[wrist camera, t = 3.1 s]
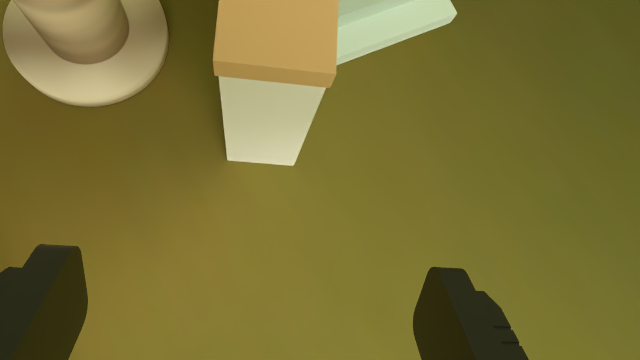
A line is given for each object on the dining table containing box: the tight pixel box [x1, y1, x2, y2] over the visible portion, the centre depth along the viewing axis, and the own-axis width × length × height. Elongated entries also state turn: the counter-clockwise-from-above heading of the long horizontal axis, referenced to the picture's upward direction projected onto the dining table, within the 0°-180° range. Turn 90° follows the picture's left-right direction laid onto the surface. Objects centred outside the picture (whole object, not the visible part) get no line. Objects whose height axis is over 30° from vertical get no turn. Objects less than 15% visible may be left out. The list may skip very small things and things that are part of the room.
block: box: [213, 0, 339, 166], centre depth 20 cm, size 4×4×11 cm
